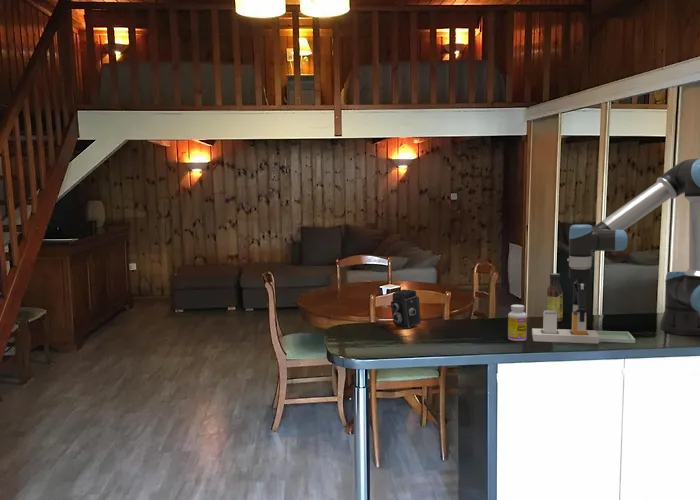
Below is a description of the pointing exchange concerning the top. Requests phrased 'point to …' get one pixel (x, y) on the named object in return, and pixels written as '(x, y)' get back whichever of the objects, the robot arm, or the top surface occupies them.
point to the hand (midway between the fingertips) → (579, 326)
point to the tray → (615, 336)
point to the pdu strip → (565, 336)
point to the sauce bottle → (555, 296)
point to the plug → (574, 325)
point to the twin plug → (549, 322)
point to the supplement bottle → (517, 323)
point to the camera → (405, 309)
